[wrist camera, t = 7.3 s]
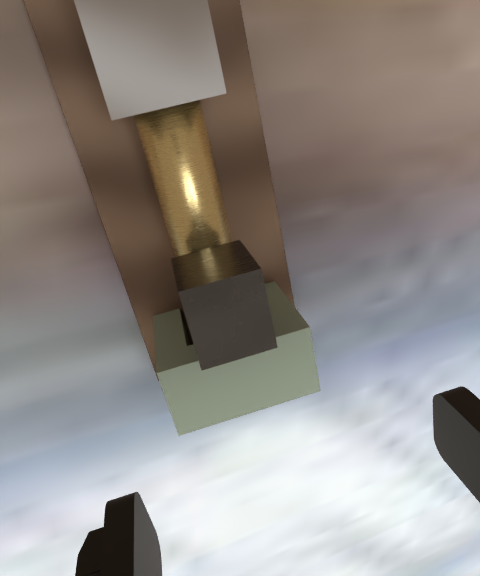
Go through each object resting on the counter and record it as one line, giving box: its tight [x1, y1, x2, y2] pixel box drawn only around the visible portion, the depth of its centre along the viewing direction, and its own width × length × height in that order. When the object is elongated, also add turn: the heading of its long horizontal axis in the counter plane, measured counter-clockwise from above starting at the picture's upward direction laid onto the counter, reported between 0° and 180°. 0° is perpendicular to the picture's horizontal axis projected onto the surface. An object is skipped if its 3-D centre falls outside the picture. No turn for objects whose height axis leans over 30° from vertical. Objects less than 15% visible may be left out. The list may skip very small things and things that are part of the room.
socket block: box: [153, 281, 320, 436], centre depth 26 cm, size 4×8×6 cm, turn 102°
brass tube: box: [134, 100, 278, 370], centre depth 21 cm, size 17×4×8 cm, turn 12°
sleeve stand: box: [23, 0, 295, 381], centre depth 23 cm, size 26×10×6 cm, turn 12°
